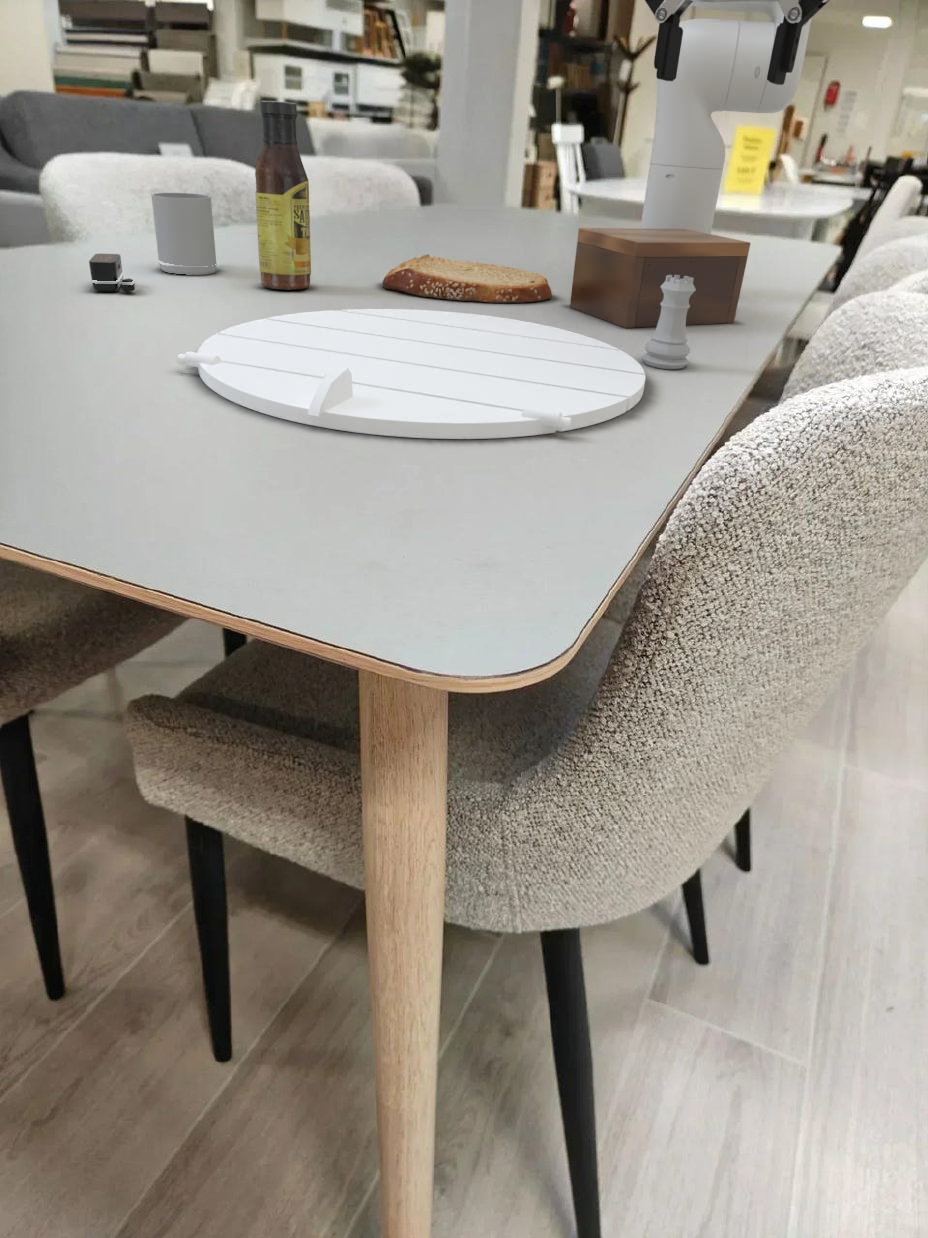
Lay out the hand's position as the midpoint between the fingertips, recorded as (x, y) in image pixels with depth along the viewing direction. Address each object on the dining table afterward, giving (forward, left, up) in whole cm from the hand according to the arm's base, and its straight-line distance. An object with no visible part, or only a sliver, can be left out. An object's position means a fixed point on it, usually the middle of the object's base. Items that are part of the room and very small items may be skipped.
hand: (718, 81), depth 74 cm
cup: (-56, -36, -24) cm, 71 cm away
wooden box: (-19, +12, -24) cm, 33 cm away
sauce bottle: (-42, -27, -24) cm, 55 cm away
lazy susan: (-2, -26, -24) cm, 35 cm away
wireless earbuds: (-43, -47, -24) cm, 68 cm away
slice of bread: (-36, -5, -24) cm, 44 cm away
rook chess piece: (+2, -2, -24) cm, 24 cm away
